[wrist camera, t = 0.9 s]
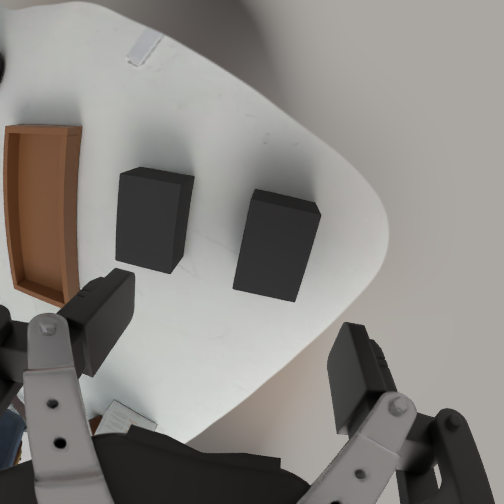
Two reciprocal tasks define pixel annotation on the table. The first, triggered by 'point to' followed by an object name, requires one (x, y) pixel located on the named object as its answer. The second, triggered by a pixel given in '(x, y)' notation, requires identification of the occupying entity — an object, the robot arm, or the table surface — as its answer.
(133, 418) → the small box
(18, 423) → the knee pad
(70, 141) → the tray
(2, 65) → the supplement container
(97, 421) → the bolt
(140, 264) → the pad
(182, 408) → the table surface
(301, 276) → the pad
